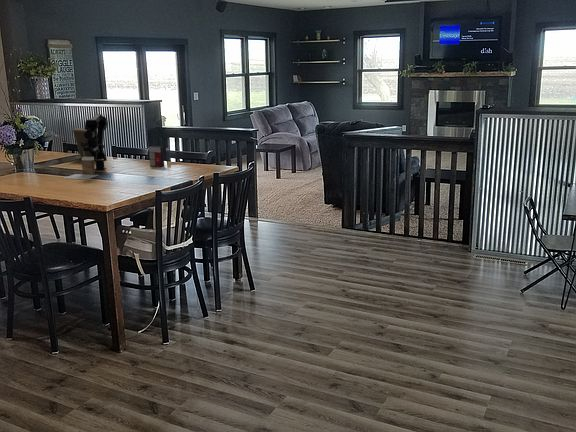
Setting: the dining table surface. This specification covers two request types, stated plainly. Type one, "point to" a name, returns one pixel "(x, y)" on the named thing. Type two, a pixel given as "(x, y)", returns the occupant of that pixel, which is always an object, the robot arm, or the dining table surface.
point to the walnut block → (88, 165)
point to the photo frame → (80, 138)
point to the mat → (80, 176)
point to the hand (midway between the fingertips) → (94, 159)
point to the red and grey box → (156, 156)
